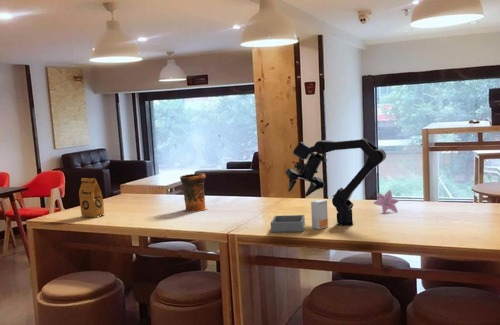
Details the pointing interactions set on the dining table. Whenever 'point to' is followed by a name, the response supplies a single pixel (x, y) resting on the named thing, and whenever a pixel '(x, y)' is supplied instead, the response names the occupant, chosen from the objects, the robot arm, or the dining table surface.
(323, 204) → the skincare box
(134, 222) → the dining table surface
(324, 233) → the dining table surface
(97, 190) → the coffee package
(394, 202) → the lily
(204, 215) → the dining table surface
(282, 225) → the box
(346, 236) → the dining table surface
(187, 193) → the vessel
